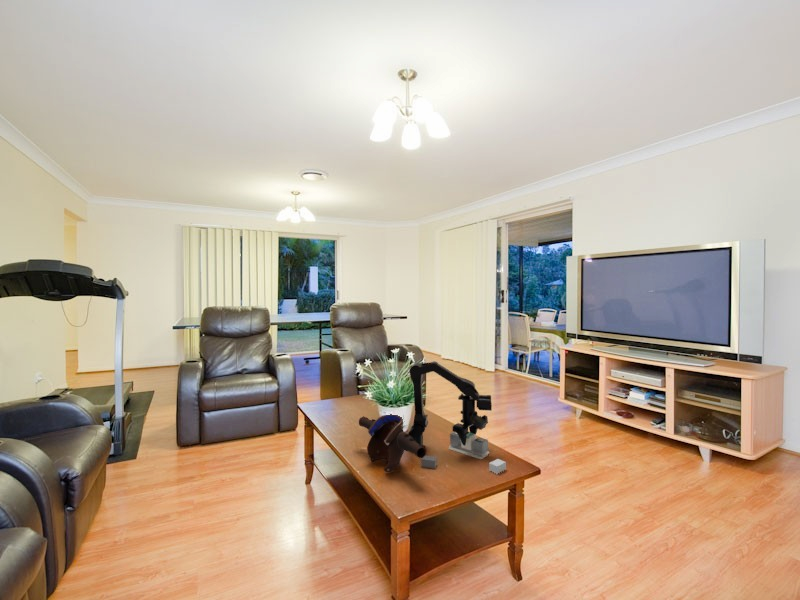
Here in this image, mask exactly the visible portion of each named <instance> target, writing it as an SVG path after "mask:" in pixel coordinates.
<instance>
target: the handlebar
mask: <svg viewBox="0 0 800 600" xmlns="http://www.w3.org/2000/svg"><path fill="white" fill-rule="evenodd" d="M403 420H404V418H403V419H402V417H400V416H398V415H392V414H390V415H386V414H384V415H380V416H379V417H378V418H377V419H369V418H368V417H366V416H360V418H359V420H358V425H359V426H360V427H363V428H365V429H367V434H368V435H369V436H370V437H371V438H370V439H369V440H368V444H367V446H366V447H367V448H366V451H367V455H368V457H369V458H370V463H371V464H372V463H376V462H378V461H387V465H386V467H385V468H384V469H383V470H384V472H385V473H392V472H395V471H396V470H397V469H398V468H399V466H400V463H401V461H402V460H401V459H402V457H403V455H404V451H405V452H409V453H412V454H414V455H415V456H416V457H417V458H419V459H421V458H423V457H424V456H427V448H426V446H425V447H424V446H423V445H424V444H423V445H421V444H418V443H417V441H414V439H413V437H412V436H409V434H408V433H407V432H405V431H404V422H403Z"/></svg>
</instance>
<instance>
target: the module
mask: <svg viewBox="0 0 800 600" xmlns="http://www.w3.org/2000/svg"><path fill="white" fill-rule="evenodd" d="M468 432H469V433H468V434H467V436H466V445H465V446H464V445H463V444H462V442H461V448H465V449H468V450H472V449H474V440H475V439H477V433H476V434H473V433H470V431H468Z"/></svg>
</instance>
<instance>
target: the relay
mask: <svg viewBox="0 0 800 600" xmlns="http://www.w3.org/2000/svg"><path fill="white" fill-rule="evenodd" d="M437 461H438V457H437V456H433V455H425V456H424V457H423V458H420V467H421V468H427V469H436V467H437V464H438V462H437Z"/></svg>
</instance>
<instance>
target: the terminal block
mask: <svg viewBox="0 0 800 600" xmlns="http://www.w3.org/2000/svg"><path fill="white" fill-rule="evenodd" d="M505 469H506V470H507V461H504V460H503V459H500V458H496V459H495V460H492V461H490V462H489V463H488V471H489V472H490V471H492V472H491V473H493V472H494V473H493V474H495V473H496V474H495V475H499V474H501V473H502V472H501V471H503V470H505ZM506 470H505V471H506ZM500 472H501V473H500ZM503 472H504V471H503ZM498 473H499V474H498Z"/></svg>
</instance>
